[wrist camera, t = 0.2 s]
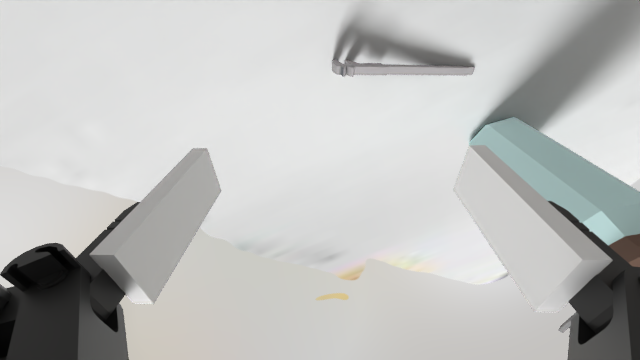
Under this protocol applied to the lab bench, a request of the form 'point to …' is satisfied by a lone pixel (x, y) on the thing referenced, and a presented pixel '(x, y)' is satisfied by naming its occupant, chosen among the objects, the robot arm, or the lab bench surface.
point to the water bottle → (569, 183)
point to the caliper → (396, 69)
